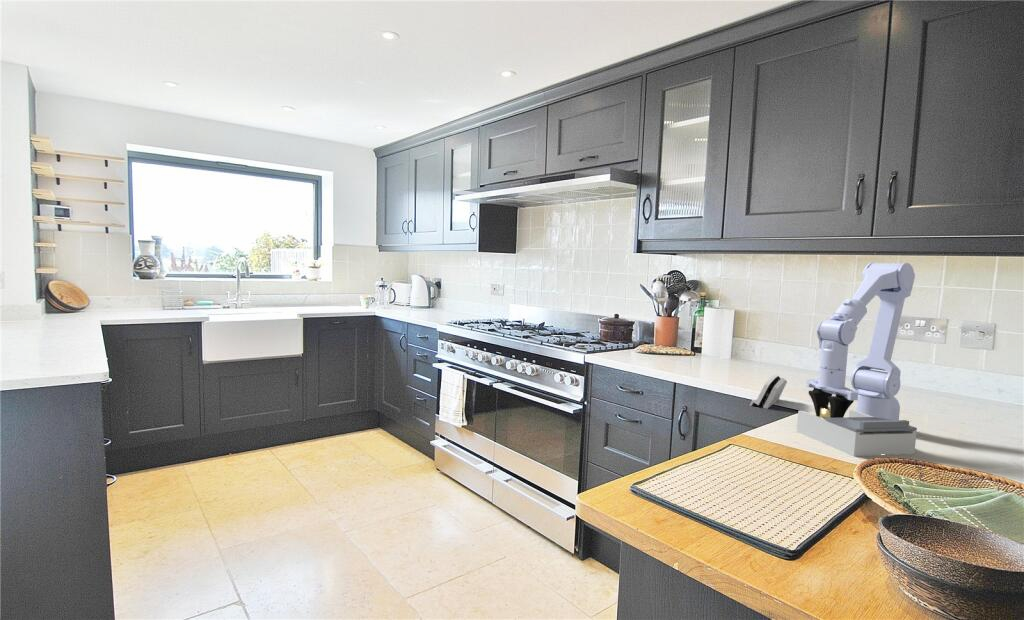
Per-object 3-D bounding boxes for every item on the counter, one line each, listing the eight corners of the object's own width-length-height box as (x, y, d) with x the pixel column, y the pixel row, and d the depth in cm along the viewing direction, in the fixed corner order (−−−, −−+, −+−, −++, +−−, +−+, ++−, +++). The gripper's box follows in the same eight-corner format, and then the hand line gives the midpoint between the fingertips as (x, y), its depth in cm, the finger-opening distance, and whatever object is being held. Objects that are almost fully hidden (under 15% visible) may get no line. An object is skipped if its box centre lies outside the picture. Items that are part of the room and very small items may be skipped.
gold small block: (832, 426, 137) (833, 407, 136) (843, 431, 132) (844, 411, 132) (815, 425, 137) (816, 406, 136) (825, 430, 132) (826, 410, 132)
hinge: (762, 396, 176) (775, 369, 174) (776, 403, 174) (790, 376, 171) (749, 405, 163) (763, 376, 160) (764, 413, 160) (779, 384, 158)
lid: (882, 419, 131) (883, 410, 130) (916, 430, 122) (917, 421, 122) (825, 420, 128) (826, 411, 127) (855, 431, 119) (856, 422, 119)
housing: (850, 430, 140) (852, 409, 139) (914, 454, 122) (916, 430, 122) (796, 432, 137) (798, 410, 136) (853, 456, 119) (855, 432, 119)
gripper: (797, 362, 140) (793, 414, 141) (841, 374, 125) (836, 430, 126) (821, 362, 141) (817, 413, 142) (867, 374, 127) (862, 430, 128)
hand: (828, 421), depth 134 cm, fingers closed on gold small block, 4 cm apart
